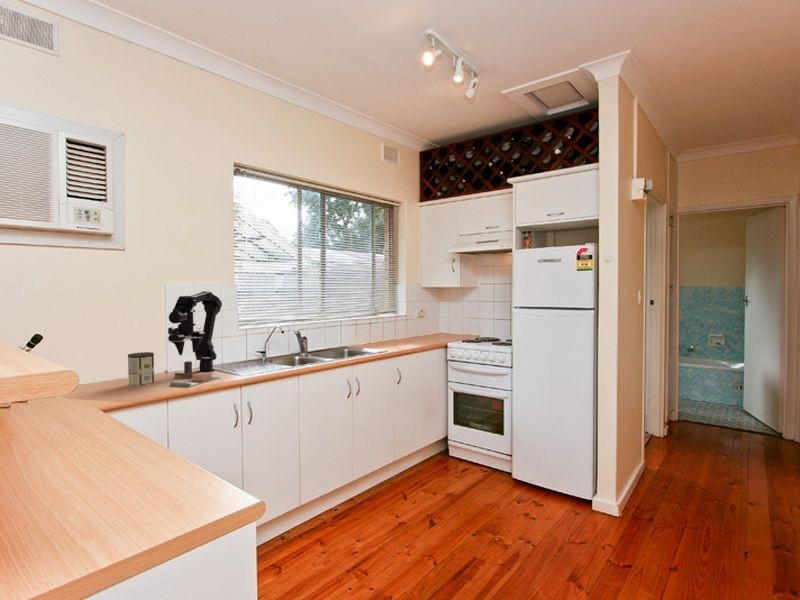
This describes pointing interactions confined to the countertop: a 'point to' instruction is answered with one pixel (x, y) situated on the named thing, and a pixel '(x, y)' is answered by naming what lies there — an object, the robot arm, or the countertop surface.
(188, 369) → the beige ledged slab
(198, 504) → the countertop surface
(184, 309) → the robot arm
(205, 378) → the tile
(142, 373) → the coffee can
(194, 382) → the gray ledged slab
